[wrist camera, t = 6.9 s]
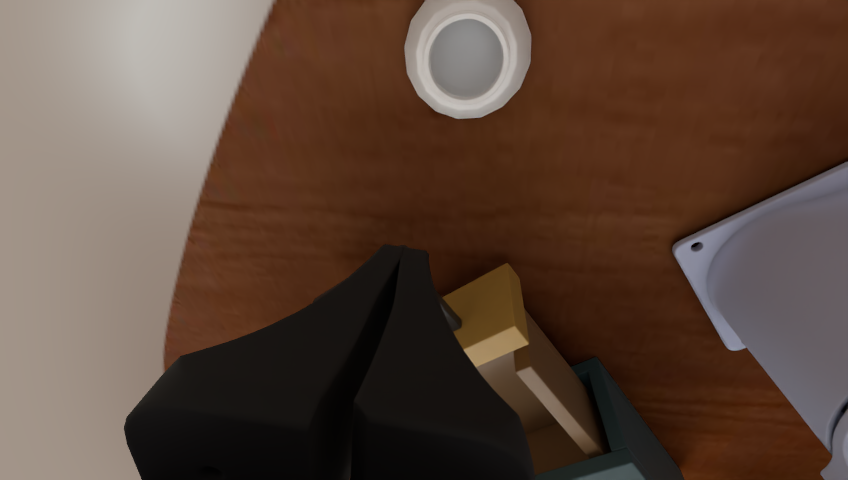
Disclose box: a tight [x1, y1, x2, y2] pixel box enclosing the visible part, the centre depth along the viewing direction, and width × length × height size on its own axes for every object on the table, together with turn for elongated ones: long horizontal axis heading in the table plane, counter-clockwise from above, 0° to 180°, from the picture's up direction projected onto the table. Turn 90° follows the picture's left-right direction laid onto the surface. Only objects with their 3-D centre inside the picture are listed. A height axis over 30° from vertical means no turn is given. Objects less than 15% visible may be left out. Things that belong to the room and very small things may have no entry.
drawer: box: [313, 245, 612, 475], centre depth 22 cm, size 16×10×5 cm, turn 37°
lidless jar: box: [404, 0, 531, 119], centre depth 16 cm, size 5×3×5 cm
